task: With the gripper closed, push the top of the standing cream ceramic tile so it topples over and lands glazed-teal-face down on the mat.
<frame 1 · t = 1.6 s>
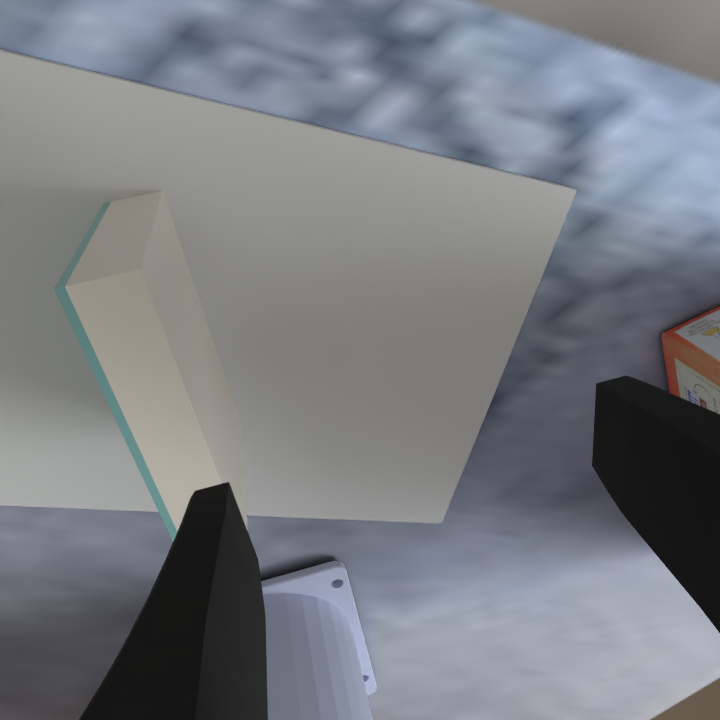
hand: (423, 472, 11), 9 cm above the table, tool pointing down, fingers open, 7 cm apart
mat: (221, 339, 19), on the table
tile: (179, 325, 18), resting on mat
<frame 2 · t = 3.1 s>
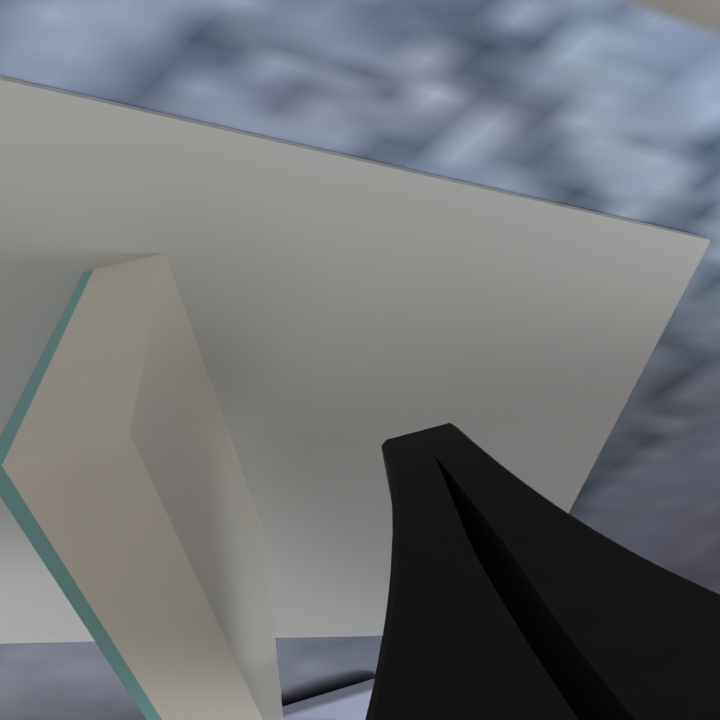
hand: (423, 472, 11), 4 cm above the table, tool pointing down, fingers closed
mat: (241, 435, 15), on the table
tile: (188, 423, 14), resting on mat
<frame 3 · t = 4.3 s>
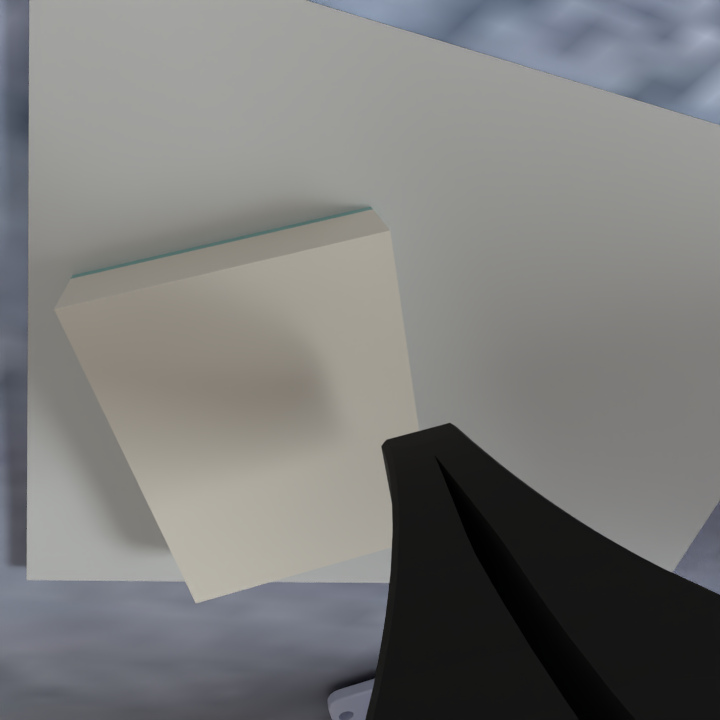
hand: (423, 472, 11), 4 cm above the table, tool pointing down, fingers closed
mat: (468, 376, 15), on the table
tile: (405, 387, 14), point 1 cm above the table, tilted 90°, touching mat
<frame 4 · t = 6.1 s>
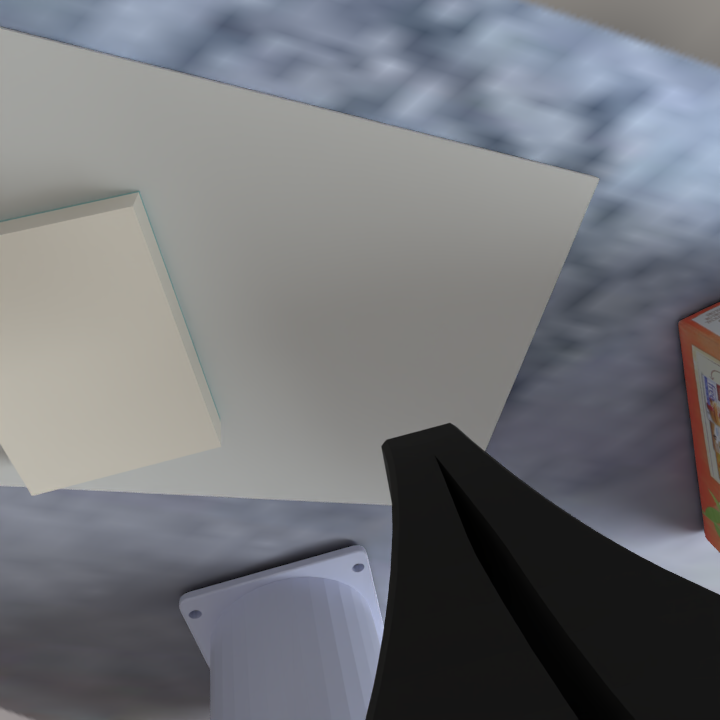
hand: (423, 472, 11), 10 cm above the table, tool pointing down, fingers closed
mat: (251, 325, 20), on the table
tile: (183, 328, 18), point 1 cm above the table, tilted 90°, touching mat
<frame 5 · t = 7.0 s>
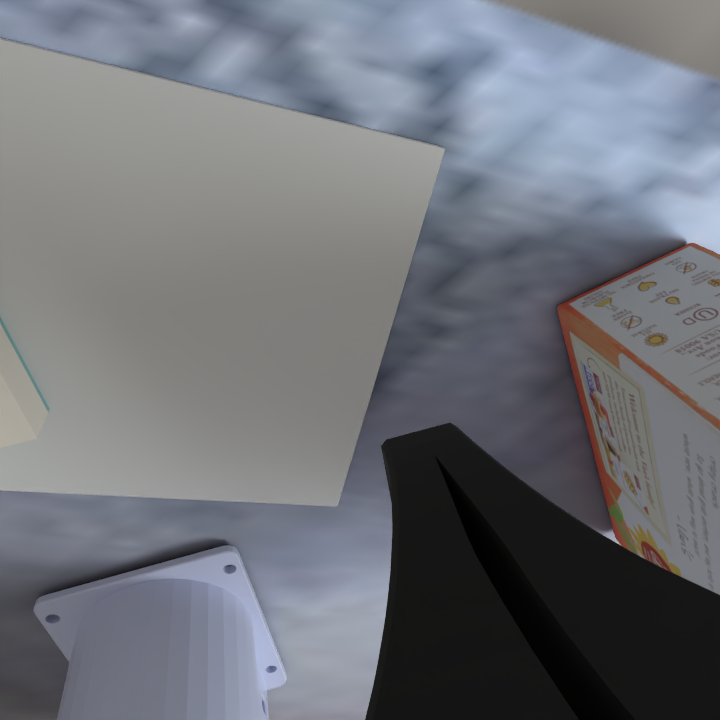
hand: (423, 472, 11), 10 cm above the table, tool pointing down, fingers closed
cracker box: (645, 402, 26), on the table
mat: (72, 307, 18), on the table
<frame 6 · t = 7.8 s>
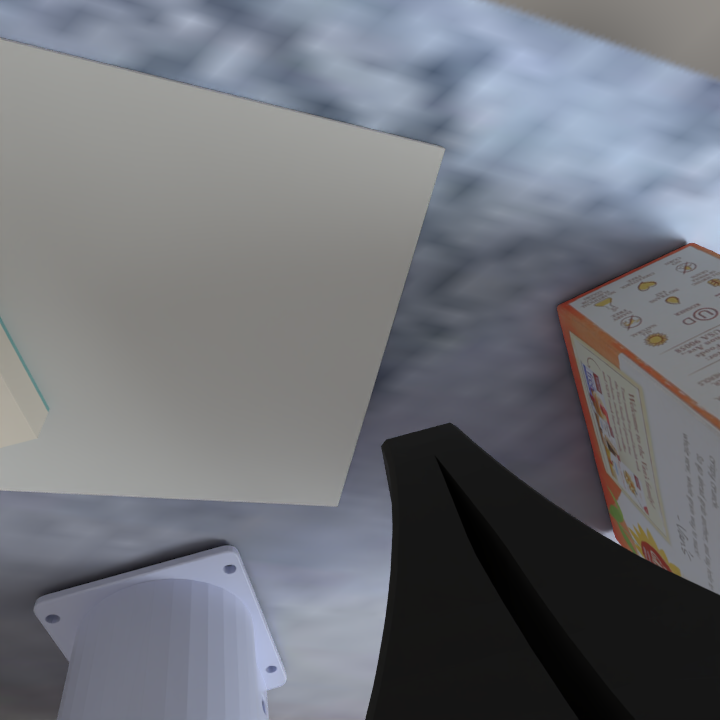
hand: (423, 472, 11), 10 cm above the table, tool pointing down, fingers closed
cracker box: (645, 402, 26), on the table
mat: (72, 307, 18), on the table
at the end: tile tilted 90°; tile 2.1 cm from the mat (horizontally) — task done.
